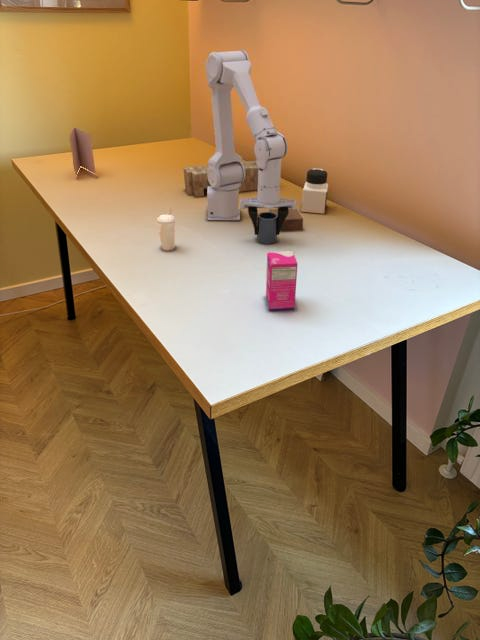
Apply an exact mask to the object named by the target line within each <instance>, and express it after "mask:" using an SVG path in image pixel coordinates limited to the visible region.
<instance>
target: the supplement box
mask: <svg viewBox="0 0 480 640" xmlns="http://www.w3.org/2000/svg"><path fill="white" fill-rule="evenodd" d="M295 255H296V254H295V253H294V251H293V250H286V251H267V252H266V273H265V276H266V277H265V279H266V280H265V298H266V302H267V306H268V311H271V312H272V311H273V312H275V311H295V310H296V296H297V295H296V293H297V277H298V260H297V258H296V256H295Z"/></svg>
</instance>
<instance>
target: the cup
mask: <svg viewBox="0 0 480 640" xmlns="http://www.w3.org/2000/svg"><path fill="white" fill-rule="evenodd" d="M277 222H278V215H277V214H275V213H272V212H269V211H263V212H259V213H258V218H257V231H258V233H257V235H256V241H257V242H258V243H259V244H262V245H273V244H274V243H276V242H277V239H278V238H277V237H278V235H277Z"/></svg>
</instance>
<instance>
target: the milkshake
mask: <svg viewBox="0 0 480 640" xmlns="http://www.w3.org/2000/svg"><path fill="white" fill-rule="evenodd" d="M172 209H173V208H172V207H170V208H169V214H168V213H166V214H160V215H159V216H158V217H157V219H156V221H157V226H158V231H159V237H160V245H161V249H162V250H163V251H164V252H165V251H167V252H170V251H173V250H174V249H175V247H176V245H175V244H176V243H175V242H176V241H175V240H176V217H175V216H174V215H173V214H172Z"/></svg>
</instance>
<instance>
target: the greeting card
mask: <svg viewBox="0 0 480 640" xmlns="http://www.w3.org/2000/svg"><path fill="white" fill-rule="evenodd" d="M68 137H69V144H70V149H71V156H72V165H73V170H74V174H75V181H77V180H78V178H79V176H80V174H81V172H84V173H86V174H88V175H89V176H92V177H94V178H96V179H97V172H96V166H95V158H94V151H93V144H92V137H91V133H90V132H87V131H85V130H82V129H79V128H77V127H73V128H72V130H71V132H70V134H69V136H68ZM80 166H82V167H84V168H86V169H88V170H89V171H91V172H93V173H95V174H96V175H95V174H93V173H91V172H89V171H87V170H85V169H83V168H80ZM79 168H80V170H79ZM78 170H79V172H78ZM77 172H78V174H77ZM76 175H77V177H76Z"/></svg>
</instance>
